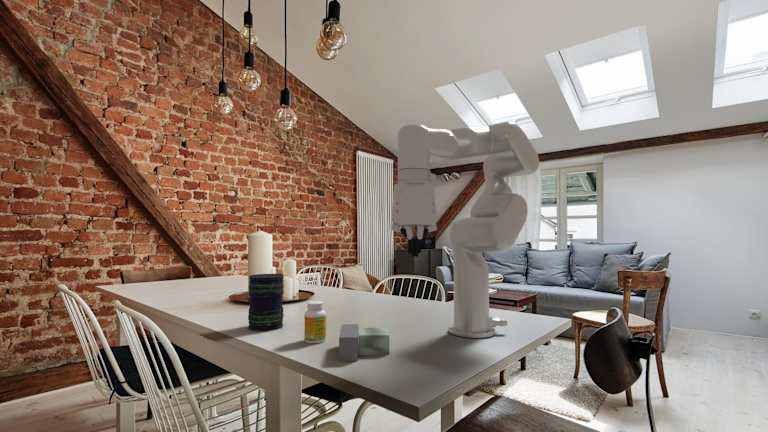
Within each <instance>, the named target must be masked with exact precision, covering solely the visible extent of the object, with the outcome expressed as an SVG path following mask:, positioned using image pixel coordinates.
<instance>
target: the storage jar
mask: <svg viewBox="0 0 768 432" xmlns="http://www.w3.org/2000/svg"><path fill="white" fill-rule="evenodd" d="M248 278H249V281H248V297H249V309H248V316H247V320H248V328H247V329H248V330H249V331H252V332H271V331H276V330H277V331H278V330H279V329H283V327H284V323H283V322H284V307H283V301H284V300H283V299H284V297H283V295H284V292H285V291H284V288H285V283H284V278H285V275H284V274H283V273H257V274H251V275H249V277H248Z"/></svg>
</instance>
